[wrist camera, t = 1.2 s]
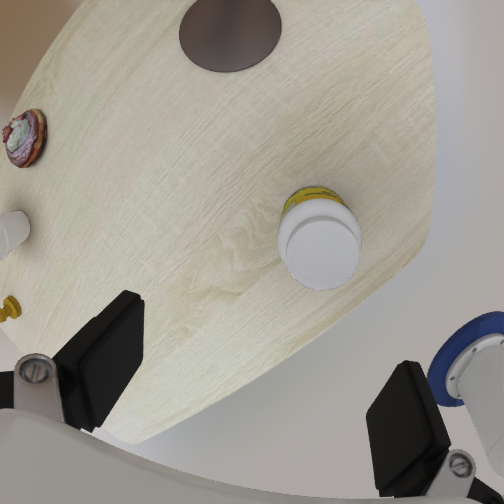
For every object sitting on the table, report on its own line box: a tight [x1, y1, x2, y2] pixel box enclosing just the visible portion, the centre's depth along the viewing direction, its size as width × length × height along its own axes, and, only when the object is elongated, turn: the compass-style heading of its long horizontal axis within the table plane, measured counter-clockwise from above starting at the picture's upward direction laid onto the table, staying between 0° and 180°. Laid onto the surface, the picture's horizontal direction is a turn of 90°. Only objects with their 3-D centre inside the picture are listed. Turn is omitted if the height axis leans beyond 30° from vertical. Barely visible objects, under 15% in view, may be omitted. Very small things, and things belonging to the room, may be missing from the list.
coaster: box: [179, 0, 281, 72], centre depth 23 cm, size 10×10×1 cm
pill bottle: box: [277, 186, 362, 291], centre depth 24 cm, size 6×6×11 cm
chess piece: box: [0, 296, 21, 322], centre depth 38 cm, size 4×4×5 cm
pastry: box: [2, 109, 46, 168], centre depth 27 cm, size 8×8×5 cm
